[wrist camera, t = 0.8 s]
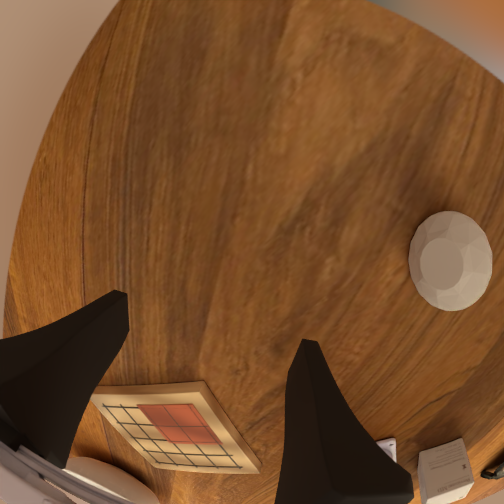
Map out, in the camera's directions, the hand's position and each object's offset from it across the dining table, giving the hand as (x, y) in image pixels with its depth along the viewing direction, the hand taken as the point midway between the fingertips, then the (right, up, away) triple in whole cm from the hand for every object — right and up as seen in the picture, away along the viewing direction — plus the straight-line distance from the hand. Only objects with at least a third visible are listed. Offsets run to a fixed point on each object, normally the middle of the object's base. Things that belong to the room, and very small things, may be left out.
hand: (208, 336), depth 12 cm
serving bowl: (-23, -39, +30) cm, 55 cm away
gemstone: (+14, +4, +6) cm, 16 cm away
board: (-7, -17, +19) cm, 26 cm away
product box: (+26, -23, +15) cm, 37 cm away
